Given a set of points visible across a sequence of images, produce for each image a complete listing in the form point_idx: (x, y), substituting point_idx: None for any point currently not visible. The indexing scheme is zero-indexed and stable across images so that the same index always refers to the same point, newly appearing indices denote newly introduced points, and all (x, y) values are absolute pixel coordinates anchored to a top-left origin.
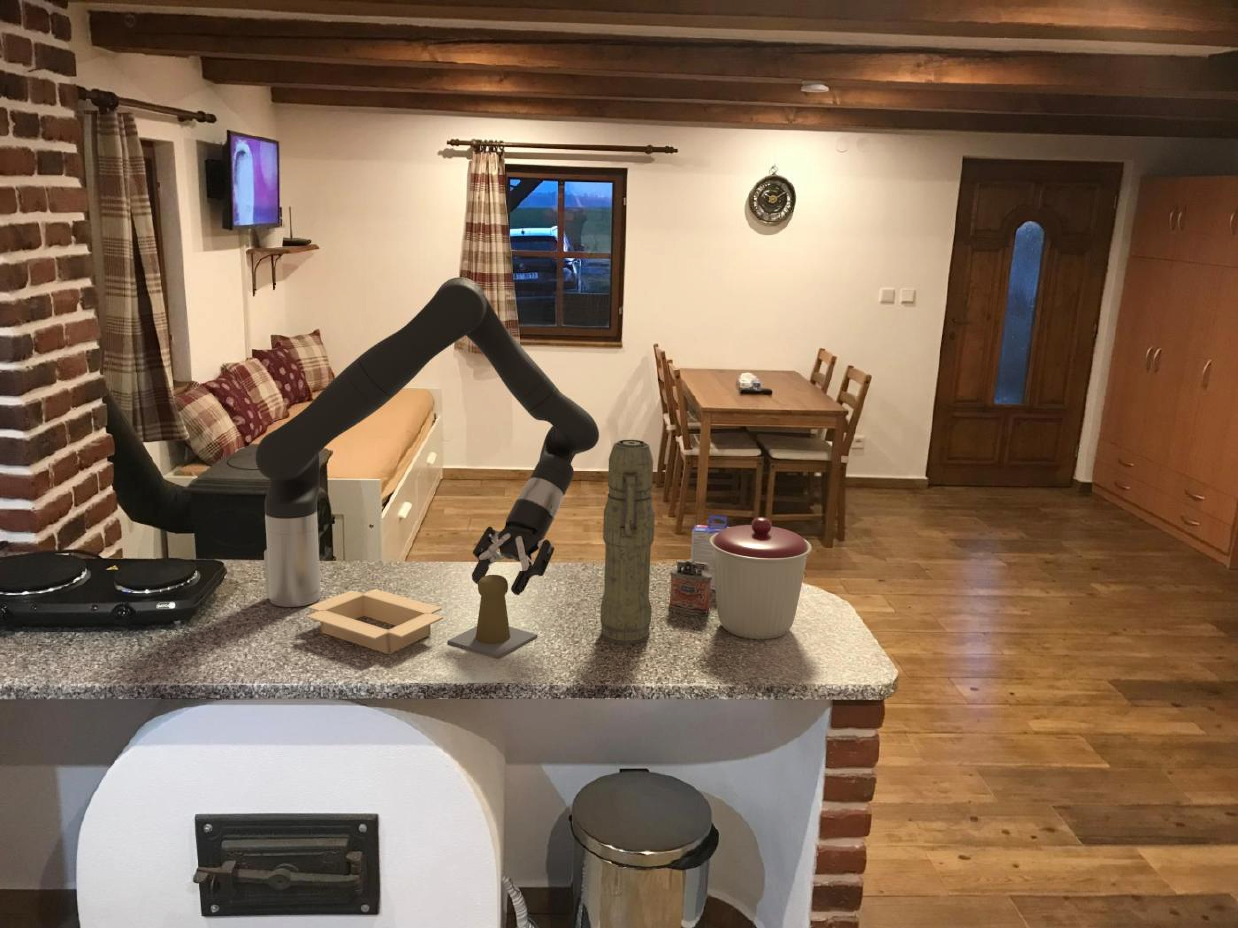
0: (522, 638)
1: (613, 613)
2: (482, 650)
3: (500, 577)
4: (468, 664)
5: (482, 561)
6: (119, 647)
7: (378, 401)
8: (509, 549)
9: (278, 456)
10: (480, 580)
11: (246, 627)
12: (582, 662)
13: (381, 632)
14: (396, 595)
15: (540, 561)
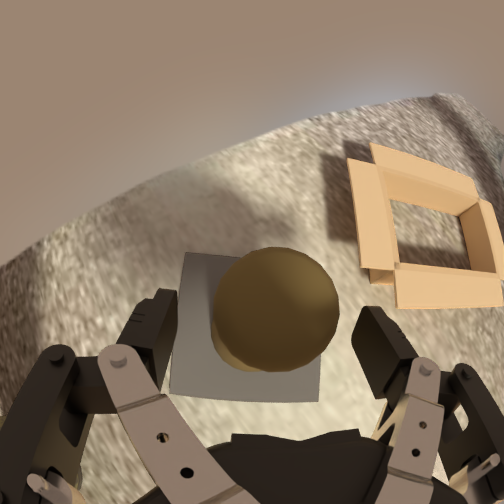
0: (186, 357)
1: (2, 422)
2: (229, 258)
3: (255, 320)
4: (224, 209)
5: (404, 356)
6: (485, 138)
7: None
8: (311, 463)
9: None
10: (319, 265)
11: (492, 195)
12: (46, 313)
13: (380, 160)
14: (478, 304)
15: (27, 380)
